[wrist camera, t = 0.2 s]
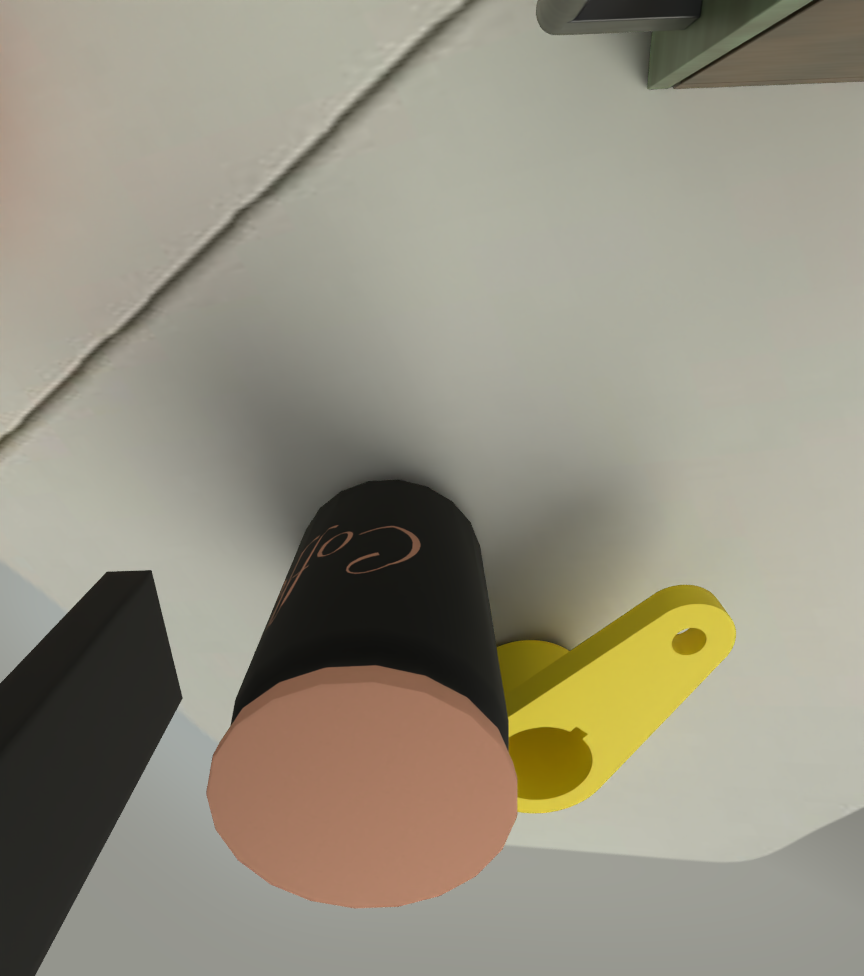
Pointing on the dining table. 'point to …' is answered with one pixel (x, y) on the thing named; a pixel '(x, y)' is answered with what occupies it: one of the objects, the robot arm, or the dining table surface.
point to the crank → (605, 693)
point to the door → (669, 27)
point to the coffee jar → (372, 711)
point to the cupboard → (794, 50)
